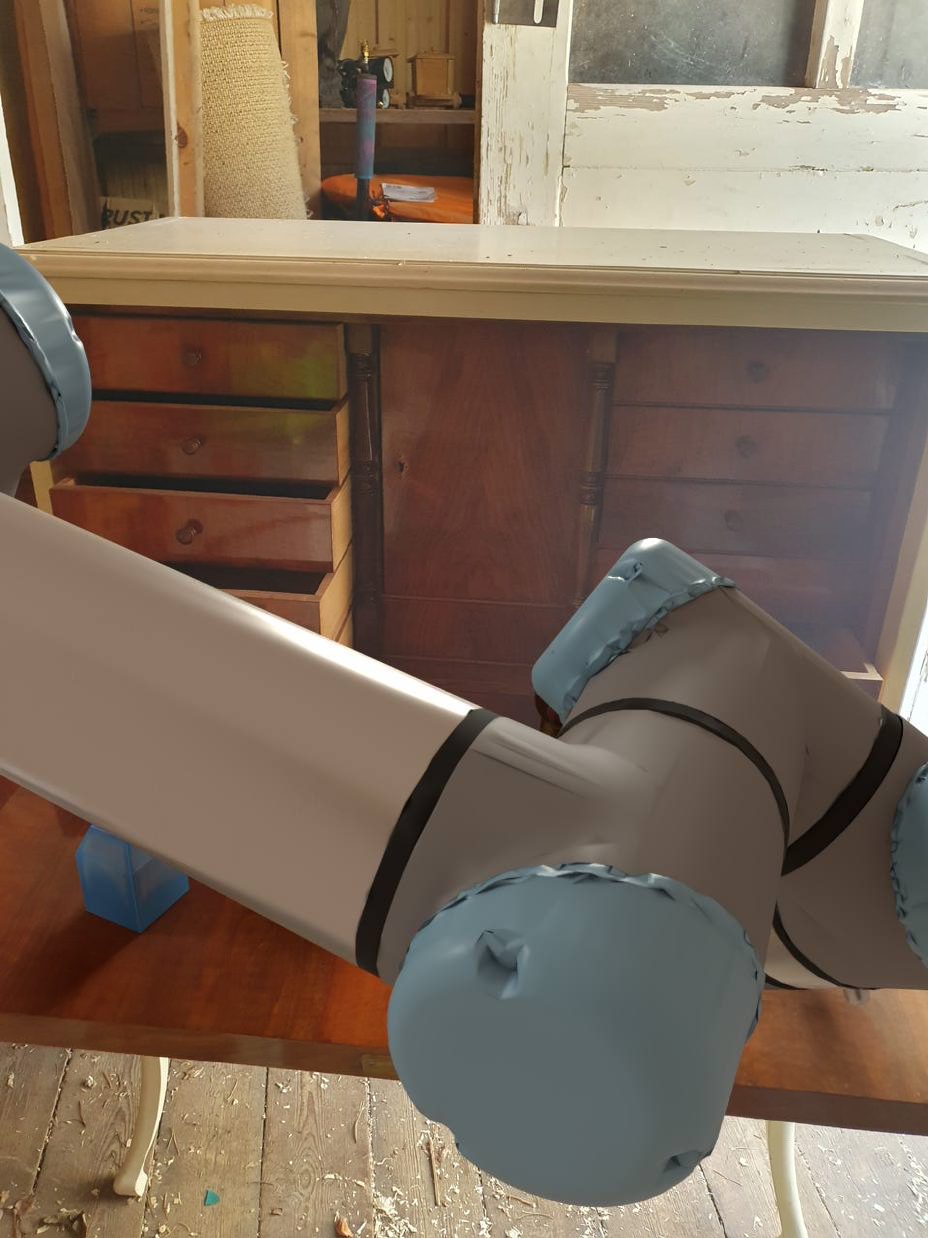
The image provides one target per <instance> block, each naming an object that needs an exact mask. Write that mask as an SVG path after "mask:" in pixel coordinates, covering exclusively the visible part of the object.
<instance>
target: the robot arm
mask: <svg viewBox="0 0 928 1238" xmlns="http://www.w3.org/2000/svg"><path fill="white" fill-rule="evenodd" d="M91 405H92V377H91V372H90V367H89V362H88V358H87V353H86V350H85V347H84V344H83V342H82V341H81V339H80V338H79V336H78V335H77V334H76V331H75V328H74V325H73V320H72V316H71V315H70V312H69V311H68V310H67V307H66V306H65V304H64V302H63V300H62V299H61V298H60V296H59V295H58V293H57V292H56V290H55V289H54V287H52V285H51V284H50V283H49V282H48V281H47V280H46V278H45V277H44V276H43V274H42V273H40V271H38V269H37V268H36V267H34V265H32V263H30V262H29V261H28V260H26V258H24V257H23V256H22V255H20V254H19V253H18V252H16V251H15V250H14V249H12V248H11V247H9V246H7V245H6V244H4V243H2V242H0V776H2V777H4V778H6V779H8V780H9V781H11V782H13V783H15V784H17V785H19V786H20V787H23V788H24V789H27V790H28V791H30V792H32V793H34V794H35V795H37V796H39V797H41V798H43V799H44V800H47V801H49V802H50V803H52V804H54V805H56V806H58V807H60V808H62V809H63V810H65V811H67V812H69V813H71V814H73V815H75V816H76V817H78V818H80V819H82V820H84V821H86V822H87V823H89V824H91V825H95V826H97V827H99V828H100V829H102V830H104V831H106V832H108V833H110V834H112V835H113V836H115V837H117V838H119V839H121V840H123V841H125V842H127V843H128V844H130V845H132V846H134V847H136V848H138V849H140V850H141V851H143V852H145V853H147V854H149V855H151V856H153V857H154V858H156V859H158V860H160V861H162V862H164V863H166V864H167V865H169V866H171V867H173V868H175V869H177V870H179V871H180V872H182V873H184V874H186V875H187V876H188V877H190V878H192V879H193V880H195V881H197V882H199V883H201V884H202V885H205V886H206V887H208V888H210V889H212V890H213V891H215V892H218V893H219V894H221V895H223V896H225V897H227V898H229V899H231V901H232V900H233V901H234V902H236V903H238V904H240V905H241V906H244V907H246V908H247V909H250V910H251V911H253V912H255V913H256V914H259V915H261V916H262V917H264V918H266V919H268V920H269V921H272V922H273V923H275V924H277V925H279V926H281V927H283V928H285V929H286V930H288V931H290V932H292V933H293V934H296V935H298V936H299V937H301V938H303V939H305V940H307V941H309V942H311V943H312V944H315V945H316V946H318V947H320V948H322V949H324V950H325V951H327V952H329V953H330V954H333V955H334V956H337V957H338V958H340V959H343V960H344V961H346V962H348V963H349V964H351V965H353V966H355V967H356V968H358V969H361V970H362V971H365V972H366V973H369V974H370V975H372V976H374V977H376V978H378V979H380V982H381V983H383V984H385V985H387V986H388V987H390V988H392V990H391V994H390V997H389V1001H388V1007H387V1014H386V1015H387V1018H386V1028H387V1029H386V1030H387V1040H388V1050H389V1054H390V1057H391V1061H392V1064H393V1067H394V1070H395V1072H396V1074H397V1076H398V1078H399V1081H400V1083H401V1085H402V1087H403V1089H404V1091H405V1092H406V1094H407V1096H408V1098H409V1100H410V1101H411V1103H412V1104H413V1106H414V1107H415V1109H416V1110H417V1111H418V1112H419V1113H420V1114H421V1115H422V1116H423V1117H425V1118H426V1119H428V1120H429V1121H432V1122H434V1123H438V1124H442V1125H443V1126H445V1127H446V1128H448V1129H449V1131H450V1132H451V1133H452V1135H453V1136H454V1137H453V1139H454V1145H455V1148H456V1150H457V1151H458V1153H459V1154H460V1155H461V1157H463V1158H464V1159H465V1160H467V1161H468V1162H469V1163H471V1164H472V1165H473V1166H474V1167H476V1168H477V1169H480V1170H481V1171H483V1172H484V1173H486V1174H487V1175H489V1176H490V1177H491V1178H494V1179H496V1180H498V1181H500V1182H502V1183H504V1184H505V1185H507V1186H509V1187H512V1188H514V1189H517V1190H519V1191H521V1192H522V1193H526V1194H529V1195H532V1196H535V1197H538V1198H540V1199H543V1200H548V1201H551V1202H555V1203H559V1204H562V1205H568V1206H569V1205H570V1206H575V1207H585V1208H616V1207H623V1206H627V1205H632V1204H637V1203H641V1202H647V1201H648V1200H650V1199H653V1198H655V1197H658V1196H660V1195H663V1194H665V1193H666V1192H668V1191H669V1190H671V1189H673V1188H674V1187H676V1186H677V1185H679V1184H681V1183H682V1182H683V1181H684V1180H686V1179H687V1178H688V1177H689V1176H691V1175H692V1173H693V1172H694V1170H696V1168H697V1166H698V1165H699V1164H701V1162H702V1161H703V1160H705V1158H708V1157H710V1156H711V1155H712V1153H713V1151H714V1149H715V1147H716V1145H717V1143H718V1140H719V1137H720V1133H721V1131H722V1130H721V1129H722V1126H723V1123H724V1120H725V1116H726V1113H727V1108H728V1105H729V1101H730V1097H731V1094H732V1090H733V1087H734V1083H735V1079H736V1076H737V1073H738V1070H739V1069H738V1068H739V1065H740V1061H741V1058H742V1054H743V1050H744V1046H745V1045H746V1044H748V1041H749V1040H750V1038H751V1037H752V1035H753V1034H754V1032H755V1030H756V1028H757V1025H758V1024H759V1022H760V1018H761V1016H762V1013H763V1011H762V1010H763V1009H762V1007H763V1006H762V1004H763V1003H762V997H763V996H762V995H763V992H764V991H806V990H836V989H842V992H843V996H844V998H845V999H846V1000H847V1002H848V1004H850V1005H854V1006H861V1005H862V1006H863V1005H866V1004H867V1003H868V1002H869V1001H870V1000H871V995H870V994H871V992H870V991H877V990H883V989H890V990H891V989H892V990H914V991H928V735H926V734H925V733H923V732H922V731H921V730H920V729H918V728H917V727H916V726H915V725H913V723H911V722H910V721H908V720H907V719H906V718H905V717H903V715H900V714H899V713H897V712H893V711H891V710H890V709H889V708H888V707H886V706H885V705H884V704H883V703H881V702H880V701H878V700H877V699H875V698H874V697H873V696H871V694H869V693H868V692H867V691H865V690H864V689H863V688H862V687H860V686H859V685H858V684H856V683H855V682H854V681H853V680H852V679H850V678H849V677H848V676H847V675H845V674H844V673H843V672H841V670H839V669H838V668H836V667H835V666H834V665H833V664H831V663H830V662H829V661H828V660H826V659H825V658H824V657H823V656H821V655H820V654H819V653H818V652H816V651H815V650H814V649H813V648H811V647H810V646H809V645H808V644H807V643H806V642H804V641H803V640H801V639H800V638H799V637H798V636H796V635H795V634H794V633H793V632H791V630H789V629H788V628H787V627H785V626H784V625H782V624H781V623H780V622H779V621H778V620H777V619H776V618H774V617H773V616H772V615H770V614H769V613H768V612H766V610H764V609H763V608H761V607H760V606H759V605H757V604H756V602H754V601H752V600H751V599H750V598H749V597H748V596H746V595H745V594H744V593H743V592H741V590H742V588H741V587H740V586H739V585H738V584H737V583H736V582H734V581H733V580H732V579H731V578H728V577H722V576H720V575H718V574H717V573H716V572H714V571H713V570H711V569H710V568H708V567H707V566H705V565H704V564H703V563H701V562H700V561H698V560H697V559H695V558H694V557H692V556H691V555H689V554H688V553H686V552H685V551H684V550H682V549H680V548H678V547H677V546H676V545H674V544H673V543H671V542H670V541H667V540H665V539H661V538H657V537H649V538H644V539H640V540H637V541H636V542H634V543H632V544H631V545H630V546H629V547H628V548H627V549H626V550H625V551H624V552H623V553H622V555H621V556H620V557H619V559H617V560H616V562H615V563H614V565H613V566H612V567H611V568H610V570H609V571H608V572H607V573H606V575H604V577H603V578H602V579H601V581H600V582H599V583H598V584H597V586H596V587H595V588H594V590H593V591H592V592H591V593H590V594H589V595H588V597H587V598H586V599H585V601H584V602H583V603H581V606H580V607H579V608H578V609H577V610H576V611H575V613H574V614H573V615H572V617H571V618H570V619H569V621H568V622H567V623H566V624H565V625H564V626H563V628H562V629H561V630H560V631H559V633H558V634H557V635H556V637H554V639H553V640H552V641H551V643H550V644H549V646H548V647H547V648H545V650H544V652H542V654H541V655H540V657H539V658H538V659H537V660H536V662H535V663H534V664H533V667H532V669H531V682H532V686H533V689H534V692H535V691H536V693H537V695H539V696H540V697H541V698H542V699H543V700H544V701H545V702H546V703H547V704H548V705H549V706H550V707H551V708H552V709H553V710H554V711H555V712H557V713H558V715H559V718H560V721H561V723H562V724H563V727H562V728H561V730H560V731H559V733H558V734H557V735H556V737H555V738H553V737H550V736H548V735H546V734H544V733H542V732H539V730H537V729H534V728H532V727H531V726H528V725H525V724H524V723H521V722H519V721H516V720H514V719H511V718H509V717H506V716H502V715H500V714H498V713H496V712H494V711H492V710H490V709H487V708H485V707H482V706H480V705H478V704H475V703H473V702H471V701H470V700H469V701H468V700H466V699H465V698H463V697H460V696H458V695H455V694H453V693H451V692H448V691H447V690H444V689H442V688H440V687H437V686H436V685H433V684H431V683H428V682H426V681H424V680H422V679H420V678H417V677H415V676H413V675H411V674H409V673H407V672H404V671H401V670H399V669H397V668H395V667H393V666H390V665H388V664H386V663H383V662H382V661H379V660H377V659H375V658H373V657H370V656H368V655H366V654H364V653H361V652H359V651H357V650H355V649H353V648H350V647H348V646H346V645H344V644H342V643H339V642H337V641H334V640H332V639H330V638H328V637H325V636H323V635H322V634H319V633H318V632H317V633H316V632H314V631H312V630H310V629H308V628H305V627H303V626H301V625H299V624H297V623H294V622H292V621H290V620H287V619H285V618H283V617H281V616H279V615H277V614H274V613H272V612H270V611H267V610H265V609H263V608H261V607H258V606H256V605H254V604H252V603H250V602H247V601H245V600H243V599H240V598H239V597H237V596H234V595H231V594H229V593H227V592H225V591H223V590H221V589H218V588H216V587H215V586H212V585H209V584H207V583H205V582H202V581H201V580H198V579H197V578H193V577H191V576H190V575H187V574H185V573H182V572H181V571H178V570H176V569H173V568H171V567H169V566H167V565H164V564H163V563H160V562H158V561H156V560H153V559H151V558H149V557H147V556H145V555H142V554H140V553H138V552H135V551H133V550H130V549H129V548H127V547H124V546H122V545H120V544H118V543H115V542H113V541H111V540H109V539H106V538H104V537H102V536H100V535H97V534H95V533H93V532H91V531H88V530H86V529H84V528H82V527H80V526H77V525H75V524H73V523H71V522H68V521H66V520H64V519H61V518H60V517H57V516H55V515H53V514H51V513H48V512H46V511H44V510H42V509H39V508H38V507H35V506H33V505H30V504H29V503H27V502H24V501H22V500H19V499H17V498H15V496H16V493H17V489H18V486H19V483H20V480H21V477H22V474H23V473H24V471H25V470H26V469H27V467H28V466H30V465H31V464H32V463H33V462H36V463H37V462H38V463H43V462H48V461H51V460H55V459H56V458H58V457H59V456H60V455H61V454H62V453H63V452H64V451H66V450H67V449H69V448H70V447H72V446H73V445H74V444H75V443H76V442H77V441H78V440H79V438H80V437H81V435H82V434H83V432H84V430H85V428H86V426H87V424H88V420H89V417H90V413H91Z"/></svg>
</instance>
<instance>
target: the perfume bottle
mask: <svg viewBox="0 0 928 1238" xmlns="http://www.w3.org/2000/svg"><path fill="white" fill-rule="evenodd" d="M74 856H75V860H76V866H77V870H78V875H79V881H80V886H81V891H82V896H83V901H84V907H85V911H86V912H89V913H91V914H93V915H95V916H98V917H100V918H102V919H104V920H107V921H109V922H112V923H114V924H117V925H119V926H122V927H124V928H126V929H129V930H131V931H133V932H136V933H137V934H142V933H143V932H144V931H145V930H146V929H147V928H148V927H150V926H151V925H152V924H153V923H154V922H155V921H156V920H157V919H158V918H159V917H161V916H162V915H163V914H164V913H165V912H166V911H167V910H169V909H170V908H171V907H172V906H173V905H174V904H175V903H176V902H178V900H180V899H181V898H182V897H183V896H185V894H186V893H188V891H189V890H190V885H189V876H188V875H186V874H184V873H182V872H180V871H179V870H177V869H175V868H173V867H171V866H169V865H167V864H166V863H164V862H162V861H160V860H158V859H156V858H154V857H153V856H151V855H149V854H147V853H145V852H143V851H141V850H140V849H138V848H136V847H134V846H132V845H130V844H128V843H127V842H125V841H123V840H121V839H119V838H117V837H115V836H113V835H112V834H110V833H108V832H106V831H104V830H102V829H100V828H99V827H97V826H95V825H93V824H91V825H90V826H89V828H88V829H87V831H86V833H85V835H84V837H83V839H82V840H81V842H80V844H79V846H78V848H77V849H76V851H75V853H74Z"/></svg>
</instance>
